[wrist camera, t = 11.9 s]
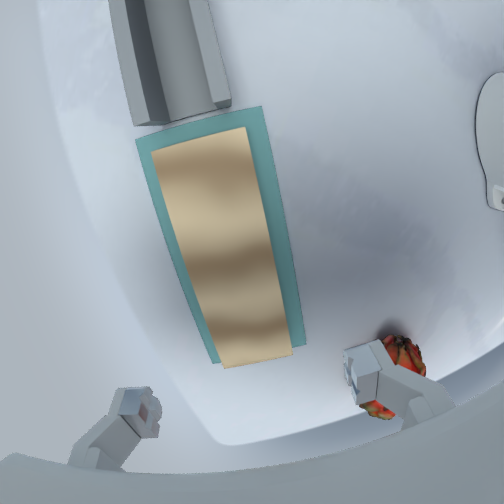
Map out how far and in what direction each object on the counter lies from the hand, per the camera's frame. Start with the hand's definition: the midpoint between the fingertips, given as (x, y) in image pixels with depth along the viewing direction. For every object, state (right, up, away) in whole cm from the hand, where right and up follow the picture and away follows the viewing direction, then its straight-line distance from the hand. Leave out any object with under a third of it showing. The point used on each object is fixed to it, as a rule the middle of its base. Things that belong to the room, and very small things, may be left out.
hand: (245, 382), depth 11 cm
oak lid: (-1, +5, +14) cm, 15 cm away
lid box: (-6, +23, +7) cm, 24 cm away
